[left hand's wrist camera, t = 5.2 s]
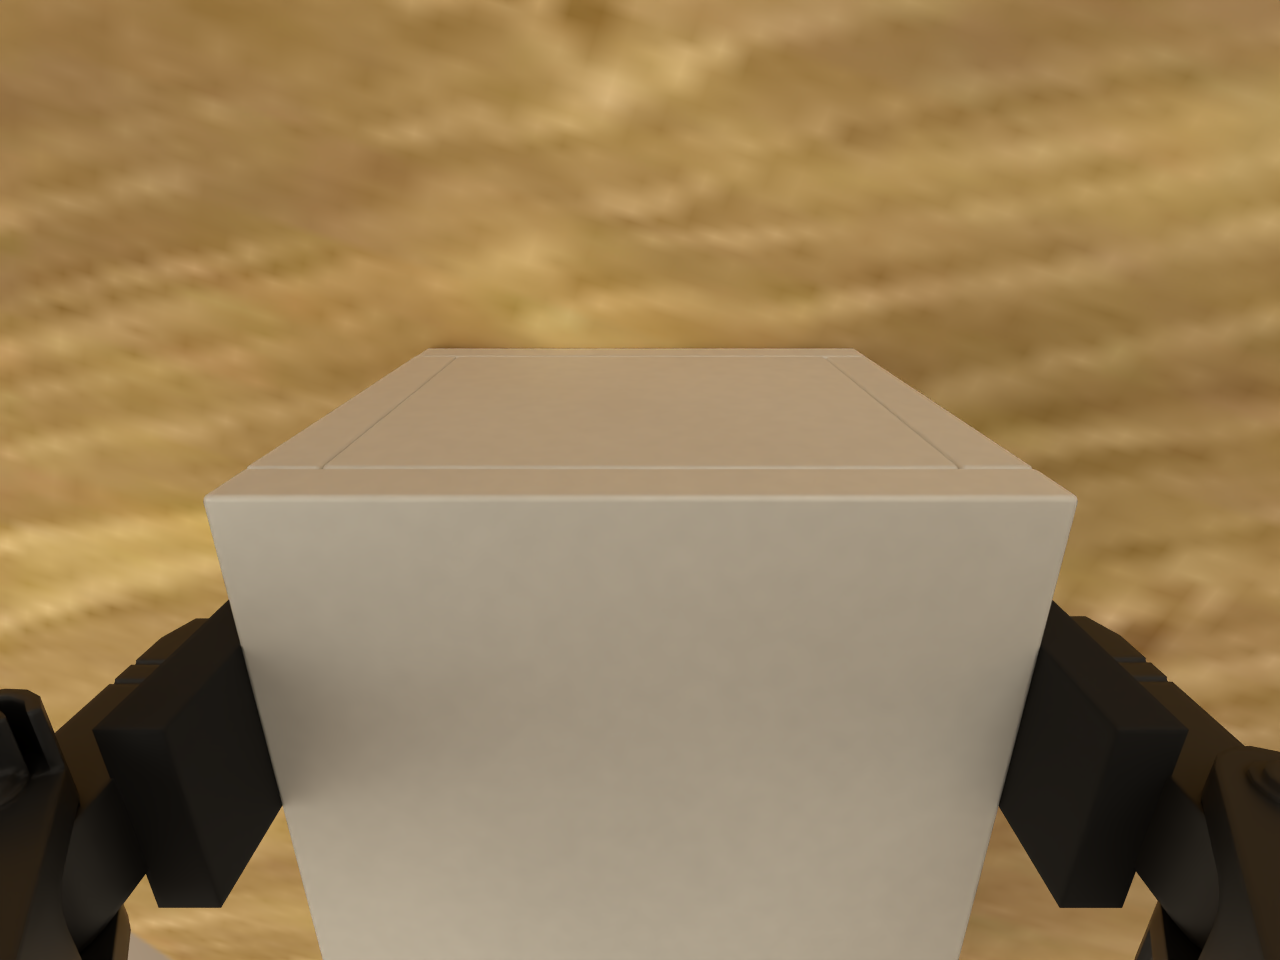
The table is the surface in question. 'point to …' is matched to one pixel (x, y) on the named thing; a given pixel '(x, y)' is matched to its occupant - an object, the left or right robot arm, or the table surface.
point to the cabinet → (640, 654)
